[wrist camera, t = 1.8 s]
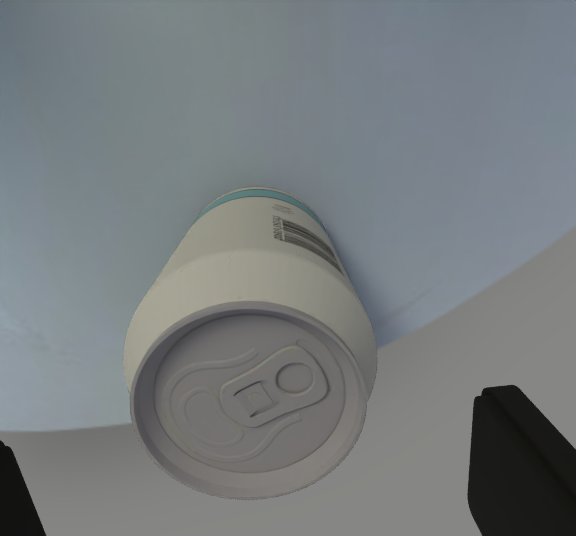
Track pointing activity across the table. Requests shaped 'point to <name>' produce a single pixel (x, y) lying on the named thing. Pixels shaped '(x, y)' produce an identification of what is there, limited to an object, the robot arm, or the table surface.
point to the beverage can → (250, 352)
